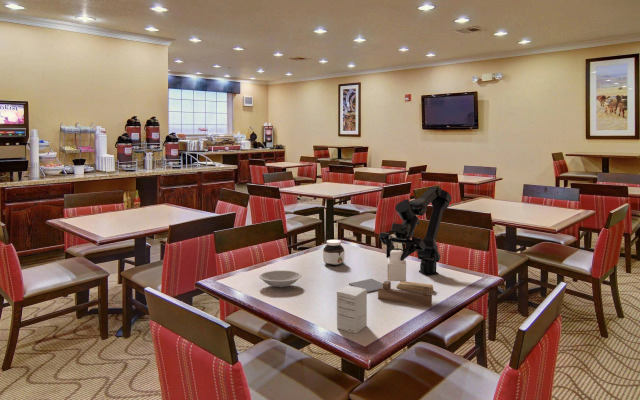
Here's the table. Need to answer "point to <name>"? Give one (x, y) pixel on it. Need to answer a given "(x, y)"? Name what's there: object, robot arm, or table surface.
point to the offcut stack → (414, 286)
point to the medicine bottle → (396, 265)
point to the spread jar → (333, 253)
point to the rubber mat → (368, 285)
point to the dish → (280, 278)
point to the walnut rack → (405, 295)
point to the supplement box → (351, 309)
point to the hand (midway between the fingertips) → (394, 258)
